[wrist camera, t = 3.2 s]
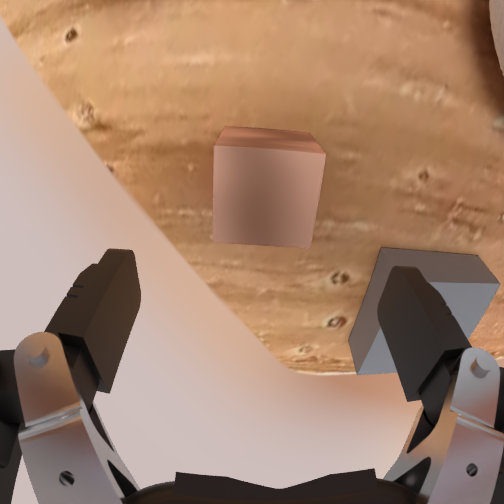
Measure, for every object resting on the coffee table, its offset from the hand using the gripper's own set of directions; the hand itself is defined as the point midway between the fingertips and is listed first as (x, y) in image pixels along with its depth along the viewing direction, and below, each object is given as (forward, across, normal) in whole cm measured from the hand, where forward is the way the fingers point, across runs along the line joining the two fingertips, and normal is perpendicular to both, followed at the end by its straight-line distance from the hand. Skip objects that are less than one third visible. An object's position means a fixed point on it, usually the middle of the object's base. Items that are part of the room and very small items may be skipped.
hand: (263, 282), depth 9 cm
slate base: (+11, -14, +10) cm, 21 cm away
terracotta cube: (+11, 0, 0) cm, 11 cm away
